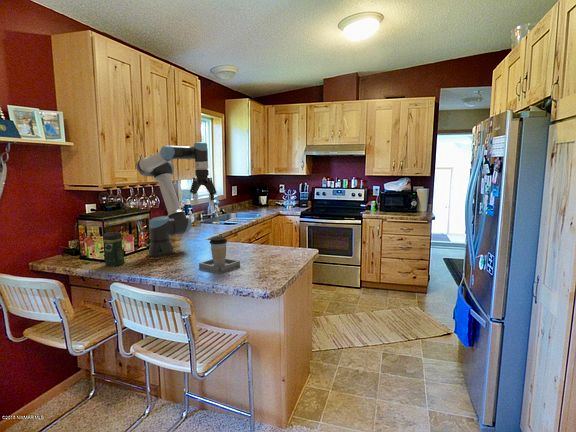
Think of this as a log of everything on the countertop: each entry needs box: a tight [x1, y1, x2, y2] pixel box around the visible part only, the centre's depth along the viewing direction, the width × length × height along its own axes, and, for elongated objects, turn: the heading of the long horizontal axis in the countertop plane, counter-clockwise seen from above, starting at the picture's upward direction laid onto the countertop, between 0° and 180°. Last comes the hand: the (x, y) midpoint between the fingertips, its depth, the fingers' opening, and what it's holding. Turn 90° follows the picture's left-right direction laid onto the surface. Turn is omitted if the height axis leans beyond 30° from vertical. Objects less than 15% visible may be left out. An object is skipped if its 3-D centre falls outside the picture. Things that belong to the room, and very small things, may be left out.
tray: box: [198, 257, 241, 274], centre depth 187 cm, size 16×15×3 cm
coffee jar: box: [102, 231, 125, 267], centre depth 194 cm, size 10×8×19 cm
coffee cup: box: [209, 236, 228, 267], centre depth 187 cm, size 9×9×15 cm
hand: (203, 205), depth 205 cm, fingers open, 13 cm apart
